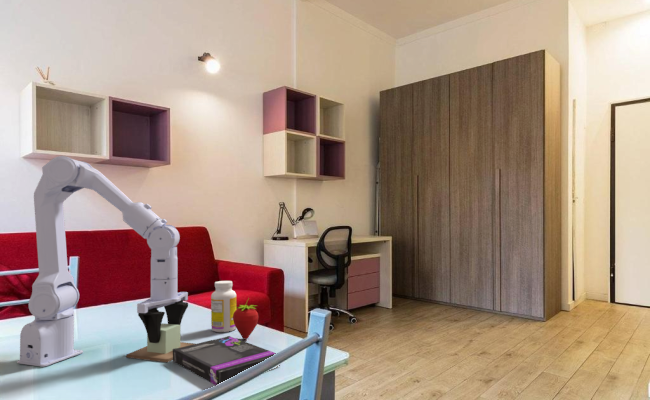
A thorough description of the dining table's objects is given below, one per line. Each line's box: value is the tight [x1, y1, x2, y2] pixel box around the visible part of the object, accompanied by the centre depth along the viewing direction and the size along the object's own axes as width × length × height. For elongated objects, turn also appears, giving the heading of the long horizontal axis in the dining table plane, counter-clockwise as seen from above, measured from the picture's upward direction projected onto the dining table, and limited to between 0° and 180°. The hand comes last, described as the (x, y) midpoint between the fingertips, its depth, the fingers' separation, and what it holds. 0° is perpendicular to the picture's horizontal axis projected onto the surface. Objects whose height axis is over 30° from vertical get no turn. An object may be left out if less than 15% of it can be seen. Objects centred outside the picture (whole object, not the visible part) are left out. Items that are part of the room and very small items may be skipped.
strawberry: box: [233, 297, 259, 340], centre depth 104 cm, size 6×8×10 cm
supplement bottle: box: [210, 280, 238, 333], centre depth 113 cm, size 7×7×13 cm
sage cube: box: [146, 323, 181, 354], centre depth 95 cm, size 5×5×5 cm
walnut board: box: [126, 341, 195, 363], centre depth 95 cm, size 11×11×1 cm
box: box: [172, 335, 281, 386], centre depth 86 cm, size 14×4×20 cm
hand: (164, 338), depth 95 cm, fingers open, 6 cm apart
